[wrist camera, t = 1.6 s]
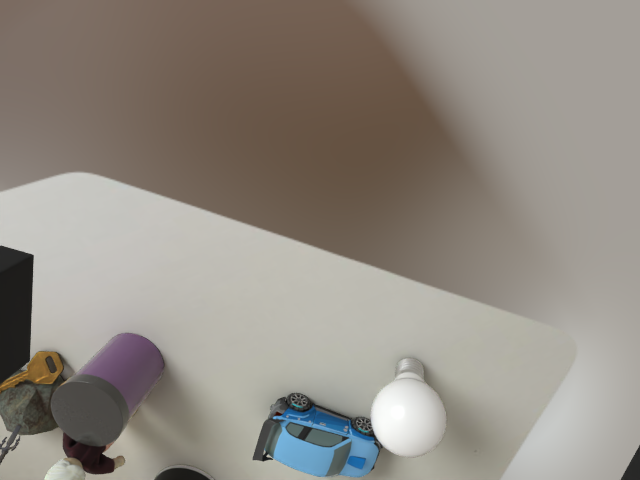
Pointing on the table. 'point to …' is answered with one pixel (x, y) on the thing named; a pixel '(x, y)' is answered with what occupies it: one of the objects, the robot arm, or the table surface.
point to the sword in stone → (27, 409)
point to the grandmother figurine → (83, 461)
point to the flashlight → (182, 473)
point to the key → (37, 371)
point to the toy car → (317, 439)
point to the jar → (107, 390)
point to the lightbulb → (408, 413)
